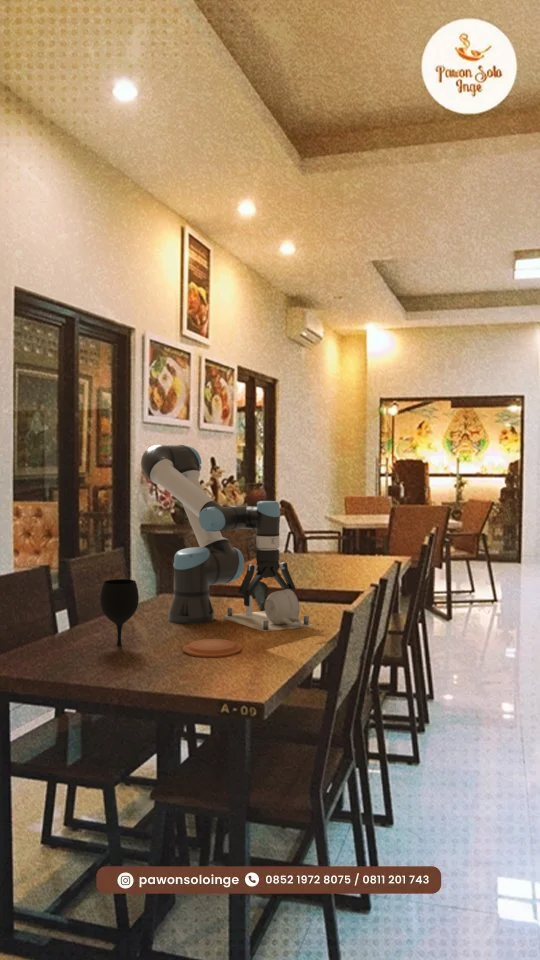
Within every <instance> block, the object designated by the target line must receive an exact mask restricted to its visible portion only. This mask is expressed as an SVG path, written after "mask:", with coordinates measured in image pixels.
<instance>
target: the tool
mask: <svg viewBox="0 0 540 960" xmlns="http://www.w3.org/2000/svg"><path fill="white" fill-rule="evenodd" d="M268 591H269V587H268V585H267V584H266V583H265V582H264V581H262V580H260V582H259V583H258V585H257V586H256V588H255V589H254V590H253V592H252V593H251V596H252V597H254V598H255V600H256V603H257V606H258V609H259V610H260V611H263V610H262V609H264V608H265V602H266V595H267V594H268Z"/></svg>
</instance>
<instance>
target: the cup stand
mask: <svg viewBox="0 0 540 960" xmlns="http://www.w3.org/2000/svg"><path fill="white" fill-rule="evenodd" d="M226 609H227V610H226V611H227V613H226V614H224V615H223V620H224V619H225V620H227V621H231V622H234V623H236V624H239V625H244V626H246V627H249V628H251V629H255V630H258V631H261V632H264V633H265V632H272V631H280V630H281V631H282V630H294V629H302V628H305V627H310V626H313V627H314V625H313V624H312V623H309V622H310V616H309V615H304V616H303V621H302V620H301V625H300V626H299V627H292V626H290V625H288V624H279V625H278V624H274V623H273V622H271V621H270V620H269V619H268V617H267V616H266V613H265V610H260V611H252V617H249V616H246V612H243V613H234V614H233V607H227V608H226ZM293 623H298V622H297V621H295V622H293Z"/></svg>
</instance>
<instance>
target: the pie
mask: <svg viewBox="0 0 540 960" xmlns="http://www.w3.org/2000/svg"><path fill="white" fill-rule="evenodd" d="M182 649H183V650H182V651H183V652H184V653H185V655H188V656H192V657H199V658H223V657H229V656H235V655H237V654H239V653H240V651H241V649H242V647H241V646H240V645H239V644H238V643H235V642H234V641H232V640H228V639H220V638H208V639H206V638H204V639H197V640H194V641H191V642H189V643H188V644H186V645H183V647H182Z"/></svg>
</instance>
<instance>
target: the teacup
mask: <svg viewBox="0 0 540 960" xmlns="http://www.w3.org/2000/svg"><path fill="white" fill-rule="evenodd" d="M264 611H265V613H266V616H267V617H268V619H269V620H270V621H271V622H273V623H274V624H278V625H279V624H288V625H290V626H292V627H299V626H300V625H301V621H302V620H301V619H300V617H299V616H300V615H299V614H300V602H299V598H298V596H297V595H296V593H295V591H294V590H290V589H285V590H283V589H281V590H277V591H274V592H271V593H269V595H268V596H267V598H265V605H264ZM295 621H297V622H298V623H293V622H295Z"/></svg>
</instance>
